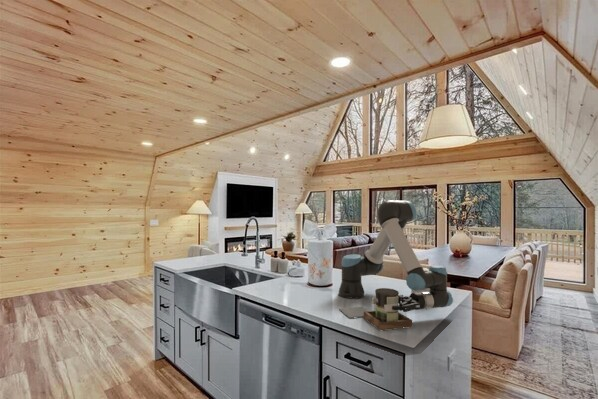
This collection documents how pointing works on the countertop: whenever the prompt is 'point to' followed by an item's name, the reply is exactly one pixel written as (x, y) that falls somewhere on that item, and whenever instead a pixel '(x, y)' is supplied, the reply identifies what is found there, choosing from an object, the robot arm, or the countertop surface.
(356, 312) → the mat
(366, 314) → the brown wooden square frame
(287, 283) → the countertop surface
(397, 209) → the robot arm
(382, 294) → the coffee can
